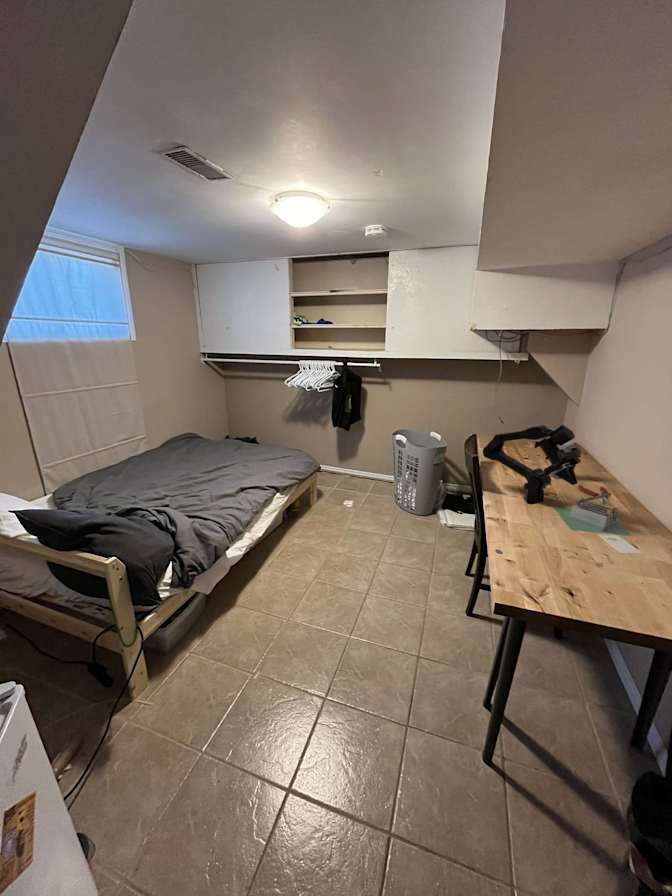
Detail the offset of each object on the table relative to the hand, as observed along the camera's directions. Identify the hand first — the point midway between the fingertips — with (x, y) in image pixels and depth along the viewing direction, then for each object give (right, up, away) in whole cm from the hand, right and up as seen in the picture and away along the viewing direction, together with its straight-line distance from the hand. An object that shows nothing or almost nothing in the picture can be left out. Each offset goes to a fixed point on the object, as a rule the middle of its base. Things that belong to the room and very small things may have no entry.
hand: (575, 484), depth 147 cm
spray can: (+23, -1, +48) cm, 53 cm away
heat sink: (+4, -14, -4) cm, 15 cm away
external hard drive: (+2, -21, -19) cm, 28 cm away
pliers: (+24, -8, +24) cm, 35 cm away
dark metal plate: (+4, -5, -5) cm, 9 cm away
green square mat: (+3, -15, -3) cm, 16 cm away
